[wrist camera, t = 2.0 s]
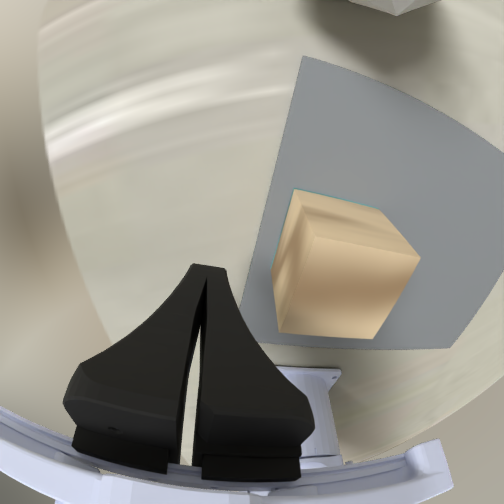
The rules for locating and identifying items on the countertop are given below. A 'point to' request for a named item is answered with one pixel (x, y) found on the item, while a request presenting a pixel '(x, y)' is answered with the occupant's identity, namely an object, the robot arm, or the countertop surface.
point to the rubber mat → (388, 203)
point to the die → (394, 5)
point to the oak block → (337, 267)
